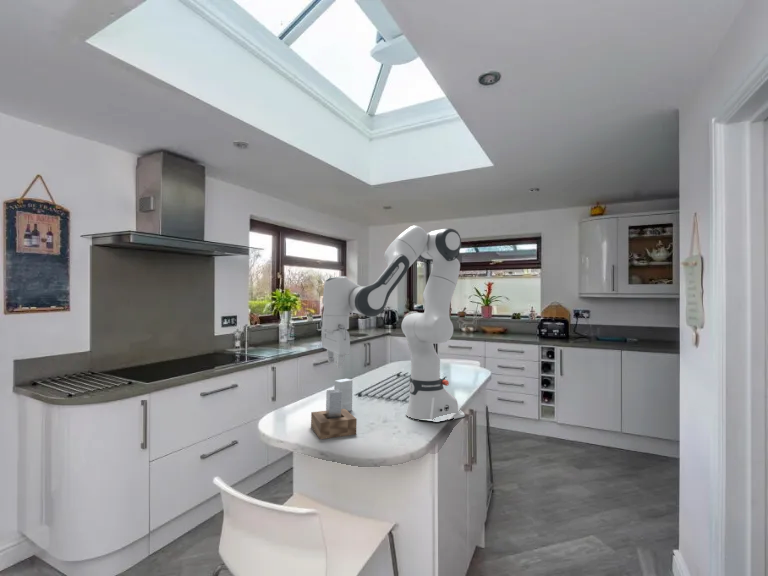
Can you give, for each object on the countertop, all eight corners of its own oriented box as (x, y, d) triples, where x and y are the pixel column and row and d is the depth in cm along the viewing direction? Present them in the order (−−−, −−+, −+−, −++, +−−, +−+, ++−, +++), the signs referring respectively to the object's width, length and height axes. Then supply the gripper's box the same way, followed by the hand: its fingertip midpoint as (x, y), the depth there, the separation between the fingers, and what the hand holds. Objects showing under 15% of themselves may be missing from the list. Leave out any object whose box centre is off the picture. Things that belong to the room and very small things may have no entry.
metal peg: (337, 424, 127) (337, 389, 128) (340, 428, 124) (341, 392, 124) (325, 426, 126) (326, 390, 126) (328, 430, 122) (329, 393, 122)
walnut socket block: (344, 422, 132) (344, 408, 133) (356, 434, 122) (356, 418, 122) (311, 427, 127) (311, 412, 128) (320, 439, 117) (320, 423, 117)
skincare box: (345, 408, 150) (346, 378, 151) (352, 410, 147) (353, 379, 148) (333, 411, 146) (334, 380, 147) (340, 413, 143) (340, 382, 144)
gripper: (355, 325, 119) (354, 369, 118) (335, 321, 137) (335, 359, 137) (336, 326, 116) (335, 371, 116) (318, 322, 134) (318, 360, 134)
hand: (335, 364), depth 126 cm, fingers open, 8 cm apart
